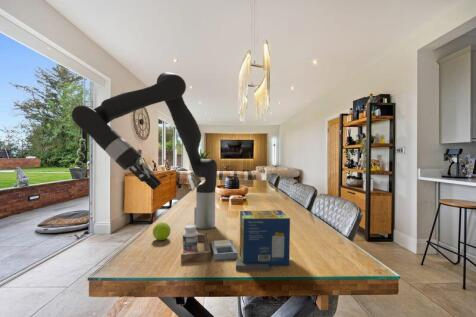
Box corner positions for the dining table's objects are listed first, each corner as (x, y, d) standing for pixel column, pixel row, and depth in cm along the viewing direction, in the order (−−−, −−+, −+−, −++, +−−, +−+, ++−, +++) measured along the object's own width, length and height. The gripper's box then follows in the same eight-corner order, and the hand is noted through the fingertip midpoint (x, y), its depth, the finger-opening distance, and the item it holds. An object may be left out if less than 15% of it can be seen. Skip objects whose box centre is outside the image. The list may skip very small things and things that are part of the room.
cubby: (180, 262, 76) (181, 254, 76) (182, 241, 95) (182, 234, 95) (210, 260, 78) (211, 252, 78) (206, 239, 97) (206, 233, 97)
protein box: (239, 253, 83) (239, 210, 83) (281, 252, 85) (281, 210, 84) (242, 267, 73) (242, 218, 73) (290, 266, 74) (290, 217, 74)
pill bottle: (184, 247, 88) (184, 224, 88) (198, 247, 89) (198, 224, 89) (182, 253, 83) (182, 228, 83) (196, 253, 83) (197, 228, 83)
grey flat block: (236, 270, 71) (236, 265, 71) (236, 263, 76) (236, 258, 76) (268, 271, 71) (268, 266, 71) (267, 264, 75) (267, 259, 75)
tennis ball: (172, 240, 95) (172, 223, 95) (154, 244, 91) (154, 226, 91) (168, 235, 101) (168, 219, 101) (151, 238, 97) (151, 221, 97)
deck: (214, 260, 78) (214, 253, 78) (210, 246, 89) (210, 240, 89) (237, 258, 79) (237, 251, 79) (231, 245, 91) (231, 239, 91)
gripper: (126, 145, 74) (163, 180, 77) (136, 147, 88) (167, 177, 91) (108, 161, 73) (146, 197, 76) (121, 160, 87) (153, 190, 90)
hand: (157, 186), depth 83 cm, fingers open, 8 cm apart
